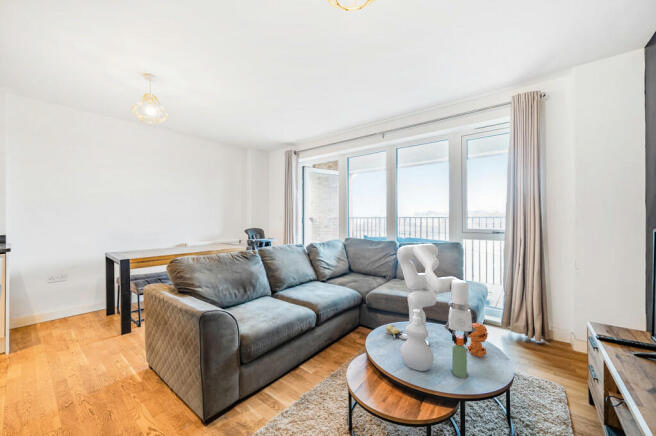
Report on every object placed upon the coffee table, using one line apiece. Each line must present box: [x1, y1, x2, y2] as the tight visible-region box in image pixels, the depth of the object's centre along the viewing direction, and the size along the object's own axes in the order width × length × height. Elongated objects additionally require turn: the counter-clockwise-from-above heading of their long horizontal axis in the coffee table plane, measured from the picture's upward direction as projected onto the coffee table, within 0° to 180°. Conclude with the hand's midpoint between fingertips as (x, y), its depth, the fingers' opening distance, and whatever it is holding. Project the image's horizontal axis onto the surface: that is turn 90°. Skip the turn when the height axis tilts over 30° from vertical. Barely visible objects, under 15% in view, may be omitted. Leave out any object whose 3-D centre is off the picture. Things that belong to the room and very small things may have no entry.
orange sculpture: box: [466, 321, 489, 358], centre depth 150 cm, size 11×11×18 cm
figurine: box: [384, 324, 407, 341], centre depth 173 cm, size 10×6×15 cm
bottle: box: [451, 344, 468, 379], centre depth 132 cm, size 6×6×18 cm
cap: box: [455, 334, 465, 346], centre depth 132 cm, size 4×4×4 cm
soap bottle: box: [399, 309, 435, 372], centre depth 138 cm, size 17×12×29 cm
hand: (459, 342), depth 132 cm, fingers closed on cap, 4 cm apart
